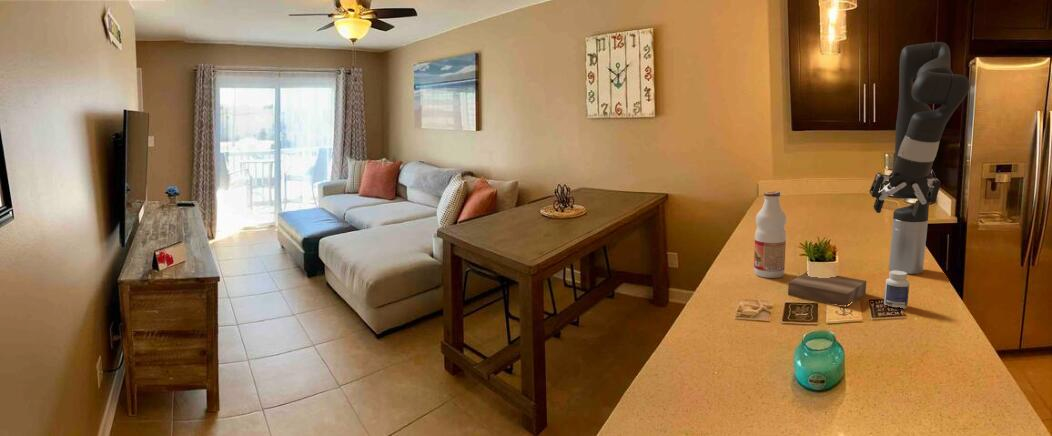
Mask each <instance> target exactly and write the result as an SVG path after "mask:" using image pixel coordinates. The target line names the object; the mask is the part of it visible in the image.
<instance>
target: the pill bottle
mask: <svg viewBox="0 0 1052 436" xmlns="http://www.w3.org/2000/svg"><path fill="white" fill-rule="evenodd" d="M907 279H908V274H907V273H906V272H903V271H896V270H893V271H892V270H890V271H889V272H888V278H886V280H885V283H884V284H885V286H884V299H883V305H884V304H885V305H888V306H892V307H900V308H903V309H902V310H905V309H907V308H908V302H909V292H910V282H909V281H908V280H907ZM885 305H884V306H885Z"/></svg>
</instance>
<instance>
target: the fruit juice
mask: <svg viewBox="0 0 1052 436" xmlns="http://www.w3.org/2000/svg"><path fill="white" fill-rule="evenodd" d="M763 197H764V202H763V204H762V207H761V209H760V210H759V211H758V212H757V213H756V216H755V223H756V226H757V227H756V229H755V233H754V255H753V273H754V275H756V276H758V277H761V278H766V279H776V278H777V279H778V278H781V277H784V275H785V266H786V246H787V245H786V244H787V243H786V242H787V233H786V230H785V226H786V223H787V215H786V213H785V212H784V211H783V210H782V206H781V204H780V198H781V192H780V191H776V190H773V191H772V190H771V191H770V190H769V191H764V192H763Z"/></svg>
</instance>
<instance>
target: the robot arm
mask: <svg viewBox="0 0 1052 436" xmlns="http://www.w3.org/2000/svg"><path fill="white" fill-rule="evenodd" d="M899 56H900V57H899V66H898V67H899V68H898V69H899V75H898V76H899V78H898V79H899V81H898V85H899V87H898V88H899V89H898V91H899V92H898V93H899V95H898V107H897V108H898V109H897V115H896V122H895V135H894V136H895V137H894V138H895V139H894V141H895V143H894V144H895V145H894V159H893V165H892V170H891V173H890V174H889V175H888V174H882V173H881V172H876V174H875V177H874V179H873V181H872V184H871V186H870V189H869V191H868V192H869V193H870V195H871V197H873V198H875V199H874V204H873V206H872V207H873V209H874V211H875V213H877V214H880V213H881V212H882V209H883V206H884V204H885V199H887V198H888V197H890V196H892V197H893V198H896V199H897V198H898V199H907V200H908V199H910V200H913V199H914V200H916V201H915V202H914V203H912V204H910V205H907V206H903V207H899V208H896V209H895V210H894V211H893V215H892V217H893V218H892V226H891V239H890V249H889V250H890V251H889V252H890V253H889V264H888V269H889V270H890V271H893V270H896V271H903V272H906V273H907V275H919V274H922V273H923V271H924V263H925V253H926V244H927V243H926V242H927V233H928V224H929V223H928V221H929V211H930V203H931V204H934V203H935V202H936V200H937V198H938V194H939V191H940V189H941V184H942V182H941V181H940V180H939V179H938V178H937V177H933V173H932V170H931V169H932V167H933V163H934V161H935V158H936V157H937V155H938V154H937V153H938V150H939V146H940V141H941V139H942V136H943V133H944V132H945V131H944V130H945V129H946V125H947V123H948V122H949V120H950V119H951V117H952V115H953V114H954V112H955V111H956V109H958V107H959V106H960V105H961V103H962V102H963V101H964V99H965V98H966V97H967V95H968V93H969V91H970V88H971V86H970V85H971V84H970V80H969V78H968V77H967V76H966V75H963V74H957V73H956V74H955V73H954V71H952V68H951V64H952V62H951V59H952V58H951V49H950V47H949V45H948V44H947V43H946V42H943V41H934V42H933V41H932V42H926V43H917V44H910V45H906V46H904V47H903V48H902V50H901V52H900V55H899ZM914 79H915V80H914ZM913 80H914V81H913ZM928 104H929V105H940V106H939V107H938V108H936V109H935V110H932V109H931V107H930V106H929V105H928ZM886 181H888V184H887V185H884V187H883V188H882V189H881V187H882V185H883V184H885V183H886Z"/></svg>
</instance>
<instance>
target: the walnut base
mask: <svg viewBox="0 0 1052 436" xmlns="http://www.w3.org/2000/svg"><path fill="white" fill-rule="evenodd" d="M807 272H808V271H806V272H804V273H802V274H801V275H798V276H797V277H796V278H794V279H792V280H790V281H788V285H787V286H788V289H787V295H788V296H791V297H794V298H795V297H796V298H801V299H805V300H809V301H815V302H820V303H824V304H828V305H832V304H837V305H846V306H847V305H848V304H850V303H851V302H854V301H855V302H857V301H858V300H859V299H860V298H862V297H863V296H865V295H866V293H867V280H864V279H858V278H853V277H849V276H847V277H846V276H842V275H837V276H836V277H830V278H818V277H810V276H808V274H807ZM855 302H854V303H855ZM837 305H836V306H837Z"/></svg>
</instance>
